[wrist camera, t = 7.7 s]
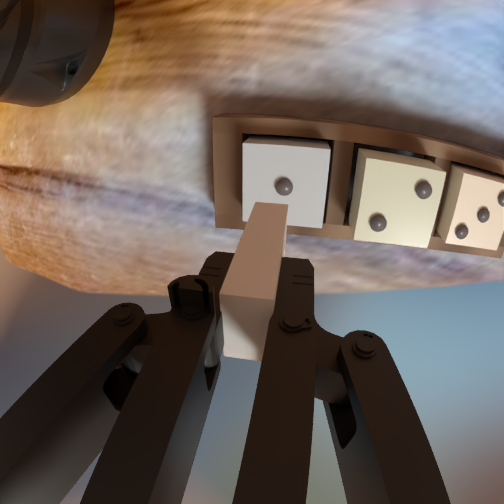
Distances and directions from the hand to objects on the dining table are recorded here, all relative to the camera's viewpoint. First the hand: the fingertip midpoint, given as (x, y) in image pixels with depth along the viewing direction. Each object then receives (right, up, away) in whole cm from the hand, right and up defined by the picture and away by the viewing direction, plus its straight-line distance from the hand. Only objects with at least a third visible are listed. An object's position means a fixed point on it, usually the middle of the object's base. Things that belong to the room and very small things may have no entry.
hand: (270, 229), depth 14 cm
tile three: (+18, +4, +7) cm, 19 cm away
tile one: (+2, +5, +9) cm, 10 cm away
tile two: (+10, +4, +7) cm, 12 cm away
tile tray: (+10, +5, +9) cm, 14 cm away
